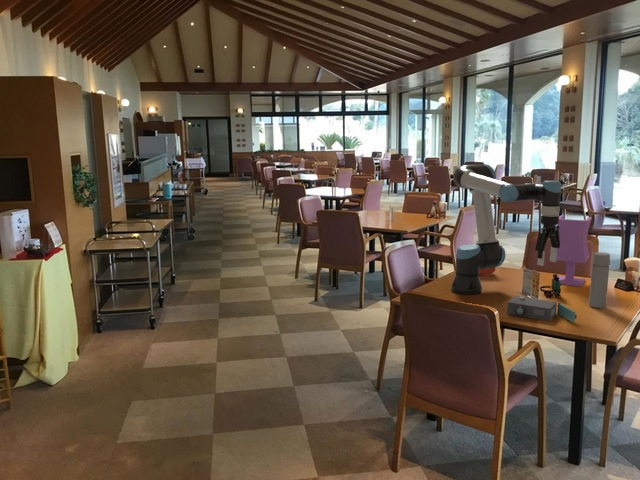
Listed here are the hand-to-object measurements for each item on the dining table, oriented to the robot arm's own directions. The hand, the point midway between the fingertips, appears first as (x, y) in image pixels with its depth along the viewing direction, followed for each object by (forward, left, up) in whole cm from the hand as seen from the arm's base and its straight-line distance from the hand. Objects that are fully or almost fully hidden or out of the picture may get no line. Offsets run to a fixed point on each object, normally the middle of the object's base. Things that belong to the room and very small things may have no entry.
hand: (546, 263), depth 257 cm
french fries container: (-44, +47, -21) cm, 68 cm away
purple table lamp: (0, +54, -21) cm, 58 cm away
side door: (+12, -11, -21) cm, 27 cm away
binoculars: (-2, +21, -21) cm, 30 cm away
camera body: (-2, -14, -21) cm, 25 cm away
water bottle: (+20, +16, -21) cm, 33 cm away
